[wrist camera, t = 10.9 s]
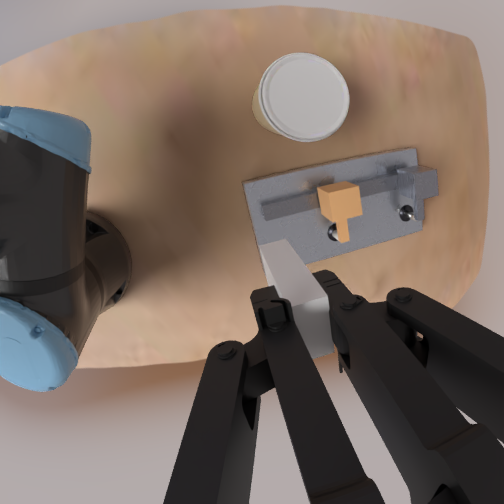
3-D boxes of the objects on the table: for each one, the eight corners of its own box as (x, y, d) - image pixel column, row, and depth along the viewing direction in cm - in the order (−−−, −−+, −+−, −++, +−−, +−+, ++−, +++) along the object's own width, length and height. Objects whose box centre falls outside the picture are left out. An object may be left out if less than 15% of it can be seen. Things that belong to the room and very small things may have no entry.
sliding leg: (322, 240, 44) (337, 254, 39) (313, 185, 41) (328, 193, 36) (348, 233, 44) (365, 246, 39) (340, 179, 41) (358, 186, 36)
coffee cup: (328, 109, 40) (369, 103, 29) (279, 154, 41) (306, 161, 30) (281, 58, 37) (308, 34, 26) (230, 103, 38) (239, 91, 27)
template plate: (263, 269, 47) (273, 295, 40) (241, 182, 42) (249, 192, 35) (415, 226, 48) (444, 242, 41) (408, 147, 43) (440, 152, 36)
